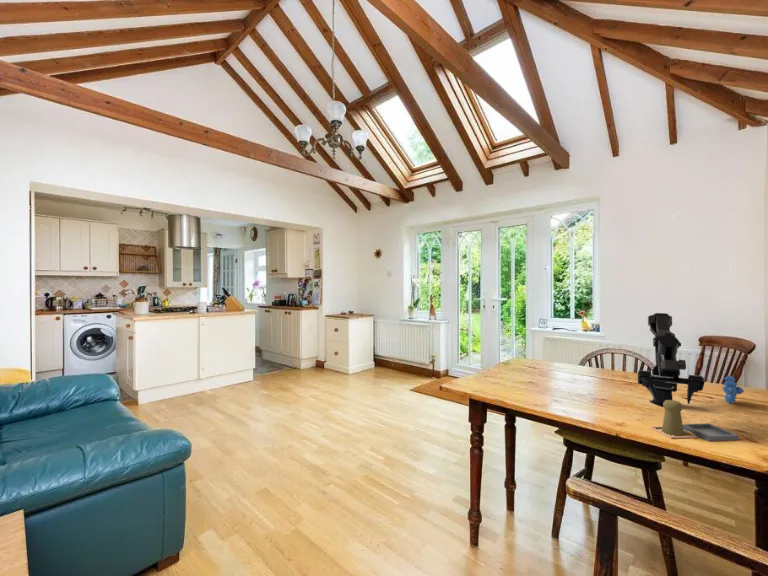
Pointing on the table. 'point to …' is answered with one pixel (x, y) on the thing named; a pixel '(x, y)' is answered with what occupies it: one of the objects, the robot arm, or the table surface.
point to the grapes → (731, 389)
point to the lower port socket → (710, 432)
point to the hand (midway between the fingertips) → (671, 401)
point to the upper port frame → (674, 436)
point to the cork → (672, 418)
